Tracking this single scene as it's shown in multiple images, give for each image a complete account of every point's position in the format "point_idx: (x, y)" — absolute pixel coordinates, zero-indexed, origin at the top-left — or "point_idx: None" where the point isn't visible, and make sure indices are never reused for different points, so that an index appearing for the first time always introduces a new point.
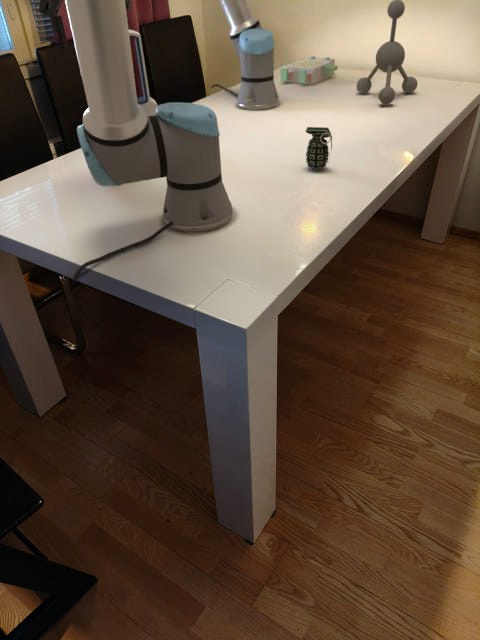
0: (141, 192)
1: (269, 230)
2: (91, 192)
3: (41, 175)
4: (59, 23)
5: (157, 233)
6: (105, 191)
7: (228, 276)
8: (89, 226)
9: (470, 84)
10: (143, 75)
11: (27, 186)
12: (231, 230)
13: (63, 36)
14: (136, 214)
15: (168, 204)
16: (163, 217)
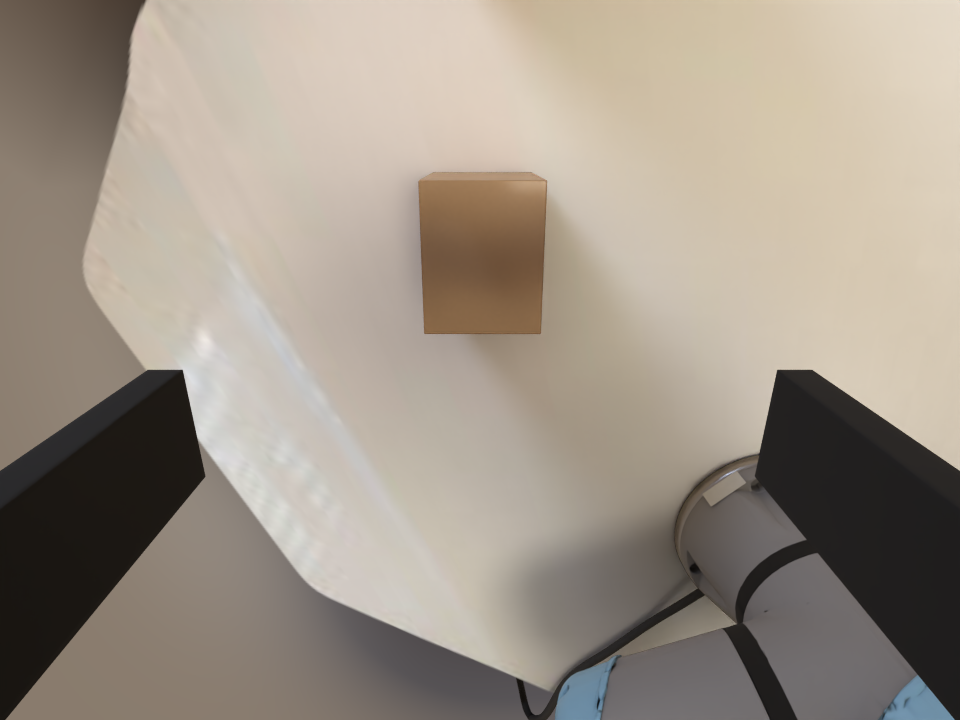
0: (589, 381)
1: None
2: (429, 375)
3: (177, 223)
4: (26, 641)
5: (670, 614)
6: (472, 370)
7: None
8: (495, 559)
9: None
10: None
11: (187, 321)
12: None
13: (128, 501)
14: (599, 508)
15: (715, 603)
16: (679, 556)
